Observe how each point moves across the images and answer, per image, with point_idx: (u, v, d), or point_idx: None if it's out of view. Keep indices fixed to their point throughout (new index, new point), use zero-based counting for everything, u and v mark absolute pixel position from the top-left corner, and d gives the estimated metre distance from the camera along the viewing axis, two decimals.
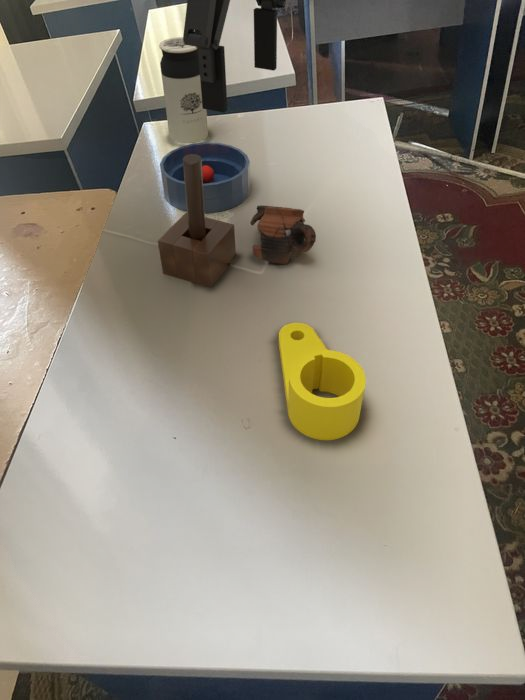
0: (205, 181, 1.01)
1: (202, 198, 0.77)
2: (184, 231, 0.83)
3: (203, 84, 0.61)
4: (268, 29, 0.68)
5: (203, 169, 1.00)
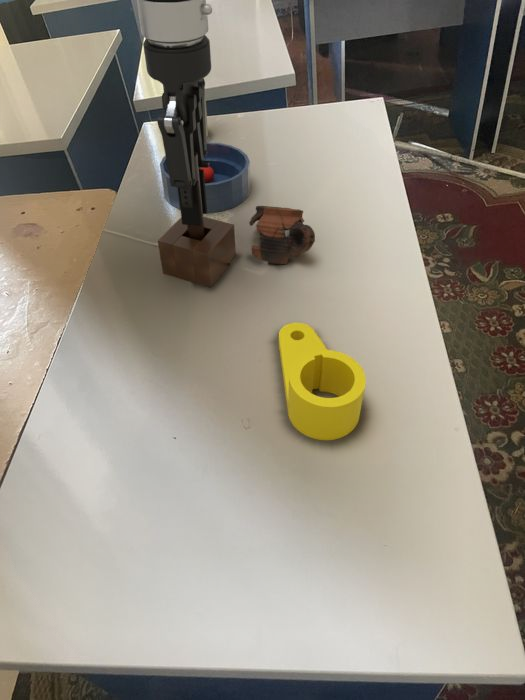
0: (205, 181, 1.01)
1: None
2: (184, 231, 0.83)
3: (183, 208, 0.78)
4: None
5: (203, 169, 1.00)
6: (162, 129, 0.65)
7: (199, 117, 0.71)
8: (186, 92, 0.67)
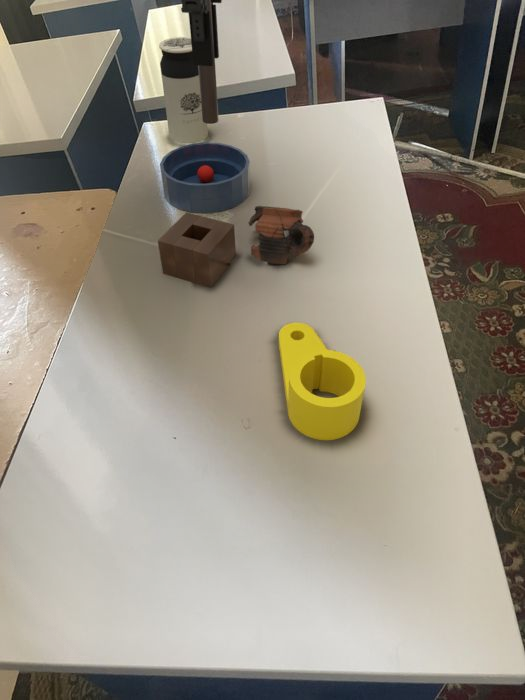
0: (205, 181, 1.01)
1: None
2: (184, 231, 0.83)
3: (194, 44, 0.76)
4: None
5: (203, 169, 1.00)
6: None
7: None
8: None
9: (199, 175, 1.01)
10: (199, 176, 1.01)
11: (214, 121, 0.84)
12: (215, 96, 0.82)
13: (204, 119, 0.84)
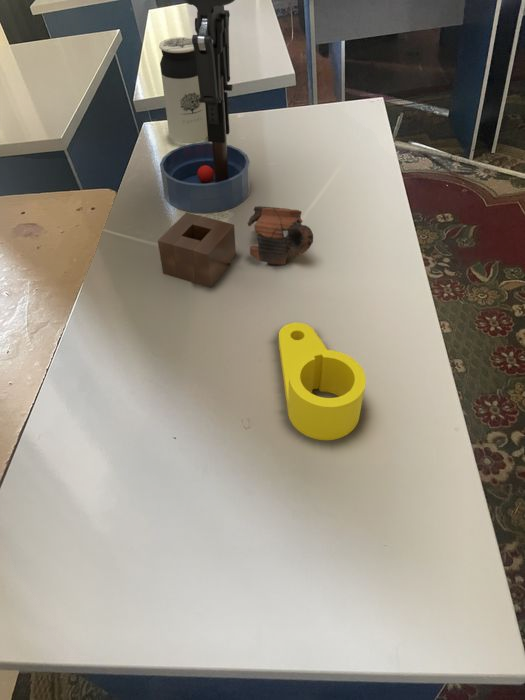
0: (205, 181, 1.01)
1: (224, 114, 0.90)
2: (184, 231, 0.83)
3: (209, 125, 0.90)
4: None
5: (203, 169, 1.00)
6: (196, 46, 0.78)
7: (225, 42, 0.83)
8: (215, 16, 0.79)
9: (199, 175, 1.01)
10: (199, 176, 1.01)
11: None
12: (226, 165, 0.96)
13: None
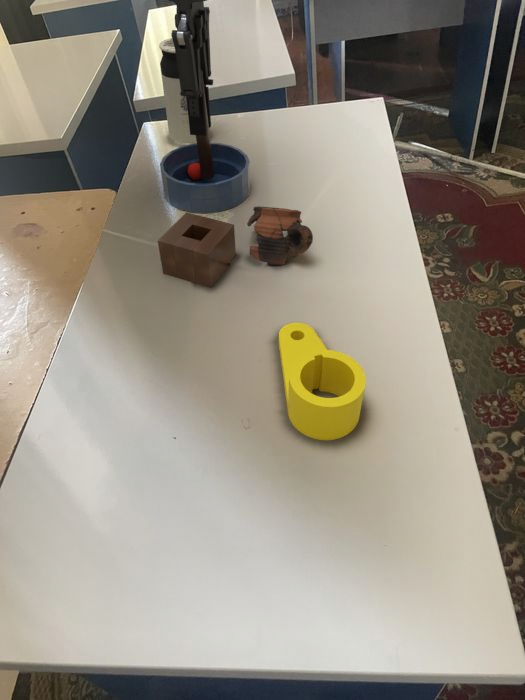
0: (194, 172, 1.01)
1: (205, 108, 0.93)
2: (184, 231, 0.83)
3: (191, 119, 0.93)
4: None
5: None
6: (175, 41, 0.80)
7: (205, 37, 0.86)
8: (194, 12, 0.82)
9: (188, 174, 1.02)
10: (189, 175, 1.02)
11: (210, 177, 1.01)
12: (210, 158, 0.98)
13: (202, 176, 1.01)
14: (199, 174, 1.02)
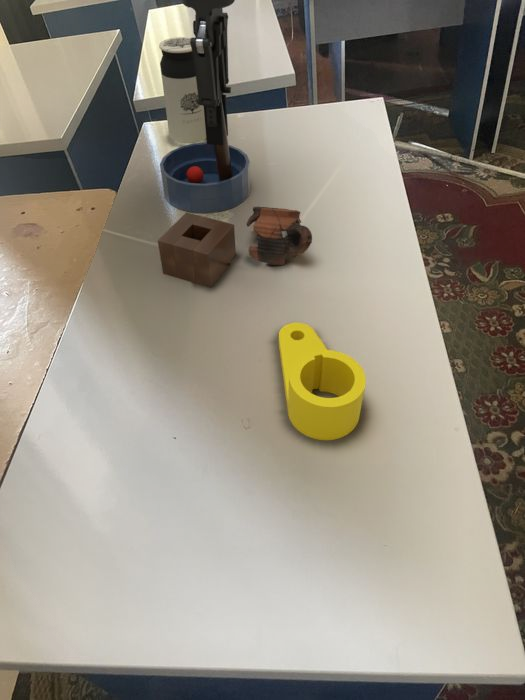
0: (190, 178, 1.01)
1: None
2: (184, 231, 0.83)
3: (207, 128, 0.90)
4: None
5: (190, 167, 1.01)
6: (194, 49, 0.77)
7: (223, 44, 0.83)
8: (214, 19, 0.79)
9: None
10: None
11: None
12: (229, 168, 0.95)
13: None
14: (193, 182, 1.01)
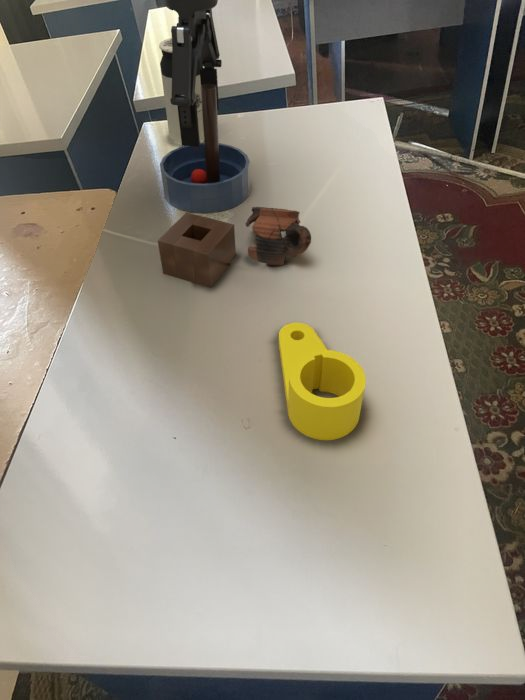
0: None
1: (216, 123, 0.91)
2: (184, 231, 0.83)
3: (182, 129, 0.86)
4: (211, 82, 0.94)
5: (198, 171, 1.00)
6: (174, 36, 0.77)
7: (209, 39, 0.86)
8: (197, 21, 0.80)
9: (192, 175, 1.00)
10: (191, 175, 1.00)
11: None
12: (217, 173, 0.97)
13: None
14: None
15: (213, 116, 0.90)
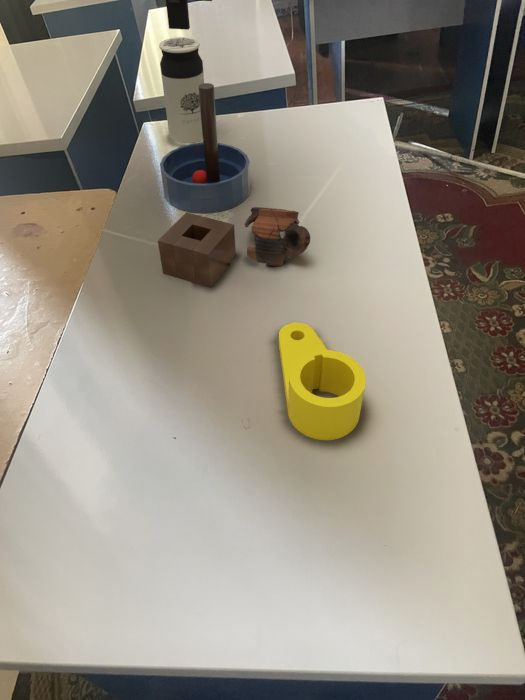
0: None
1: (214, 123, 0.91)
2: (184, 231, 0.83)
3: (169, 6, 0.74)
4: None
5: (201, 174, 0.99)
6: None
7: None
8: None
9: (194, 177, 0.99)
10: (194, 177, 1.00)
11: None
12: (217, 173, 0.97)
13: None
14: None
15: (211, 116, 0.90)
